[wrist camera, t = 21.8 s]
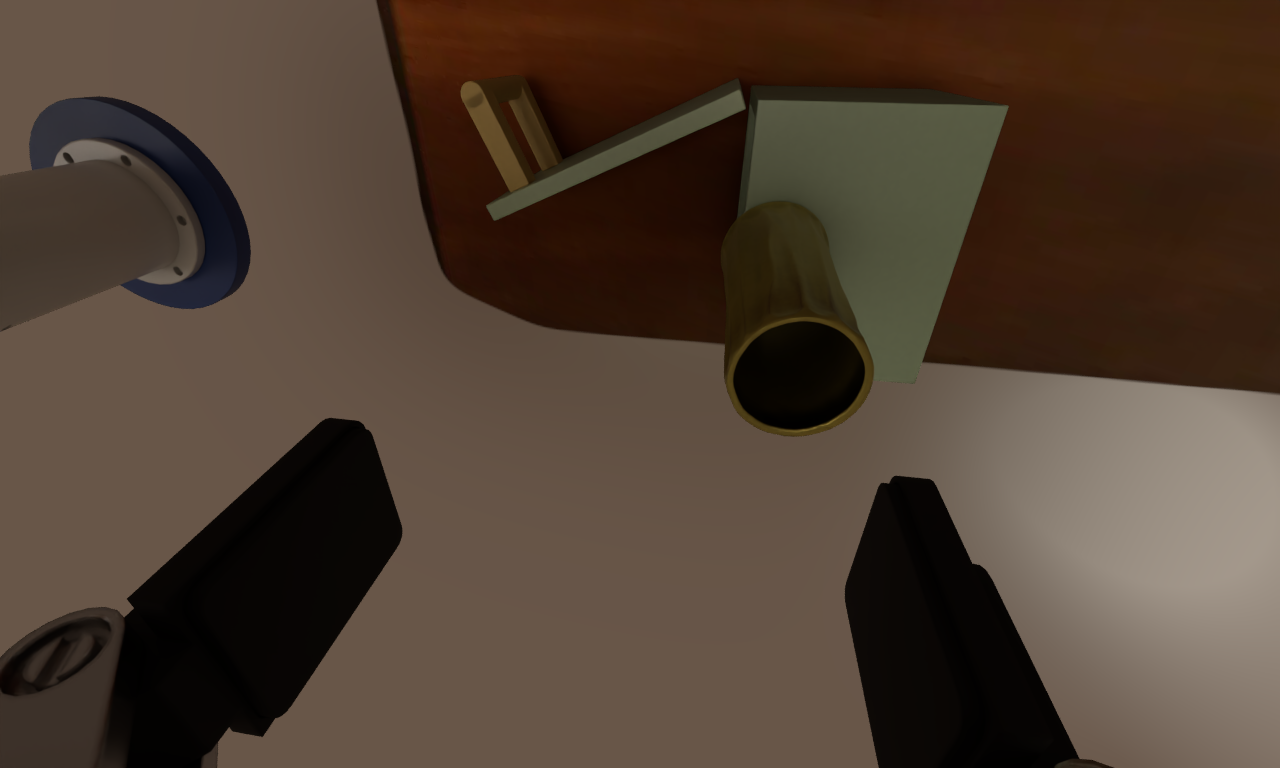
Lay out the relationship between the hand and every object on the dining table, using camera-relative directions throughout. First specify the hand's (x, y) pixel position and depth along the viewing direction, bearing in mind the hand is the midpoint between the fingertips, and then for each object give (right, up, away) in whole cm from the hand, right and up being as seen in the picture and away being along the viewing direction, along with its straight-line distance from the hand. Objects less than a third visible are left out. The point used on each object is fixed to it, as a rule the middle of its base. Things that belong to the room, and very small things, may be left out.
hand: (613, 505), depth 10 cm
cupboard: (+14, +16, +31) cm, 38 cm away
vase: (+8, +10, +21) cm, 25 cm away
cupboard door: (-1, +23, +29) cm, 37 cm away
